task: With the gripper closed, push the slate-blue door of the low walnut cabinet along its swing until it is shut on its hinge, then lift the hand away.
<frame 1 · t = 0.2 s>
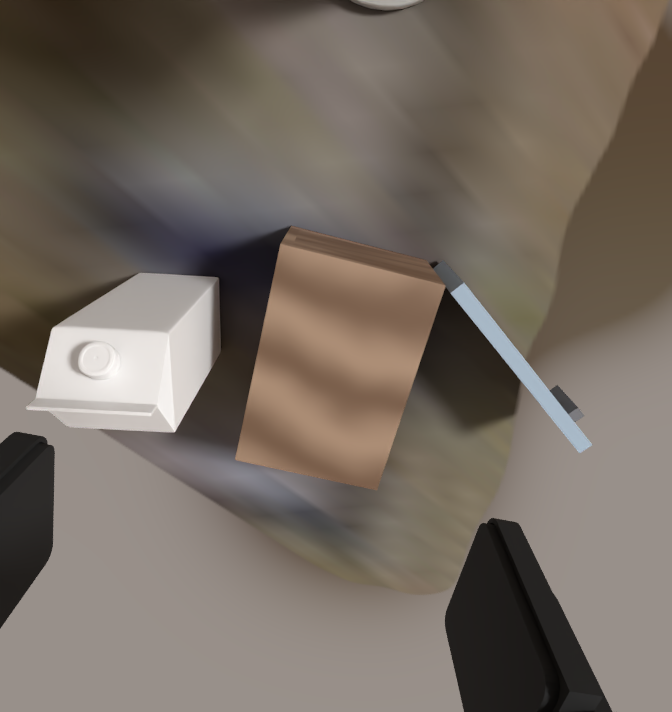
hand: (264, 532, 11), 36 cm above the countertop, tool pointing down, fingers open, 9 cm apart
milk carton: (182, 312, 47), on the countertop
walnut cabinet: (334, 338, 48), on the countertop
cabinet door: (514, 350, 44), point 5 cm above the countertop, hinge at 55.0°
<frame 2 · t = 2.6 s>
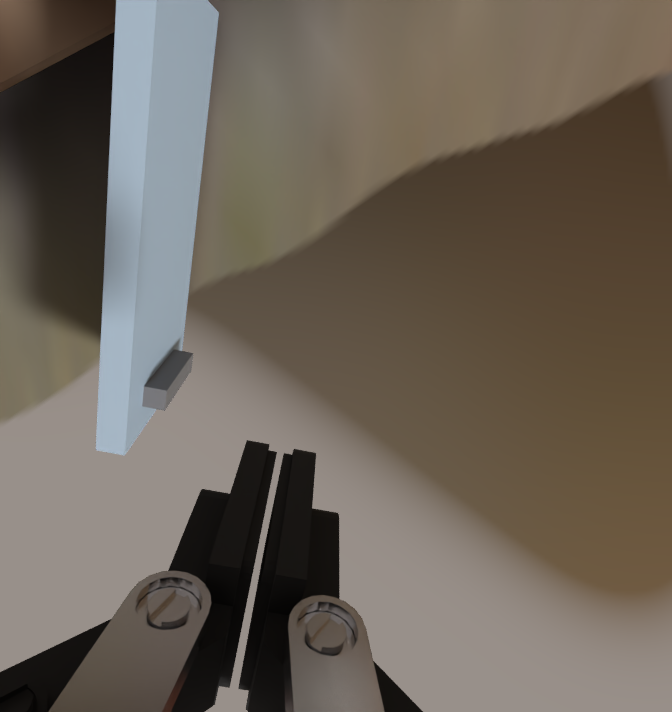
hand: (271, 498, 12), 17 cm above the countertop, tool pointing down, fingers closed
cabinet door: (170, 229, 22), point 4 cm above the countertop, hinge at 55.0°
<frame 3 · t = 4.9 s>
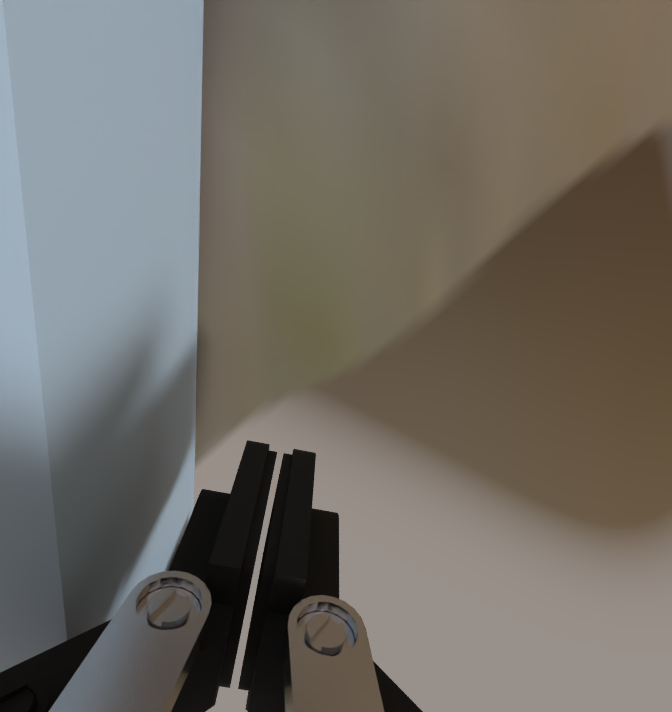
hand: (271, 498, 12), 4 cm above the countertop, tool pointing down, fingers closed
cabinet door: (144, 371, 11), point 4 cm above the countertop, hinge at 50.7°, touching gripper
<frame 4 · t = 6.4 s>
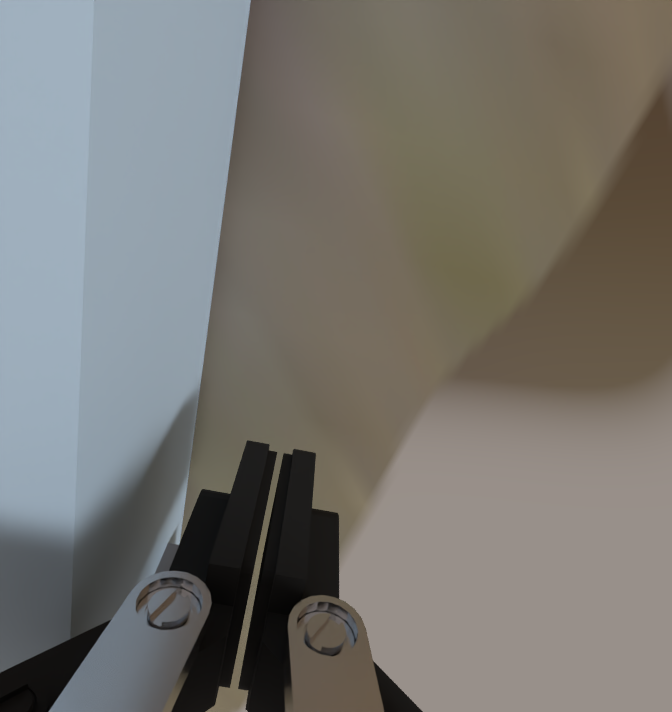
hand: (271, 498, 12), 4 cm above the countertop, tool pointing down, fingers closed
cabinet door: (160, 372, 11), point 5 cm above the countertop, hinge at 23.4°, touching gripper
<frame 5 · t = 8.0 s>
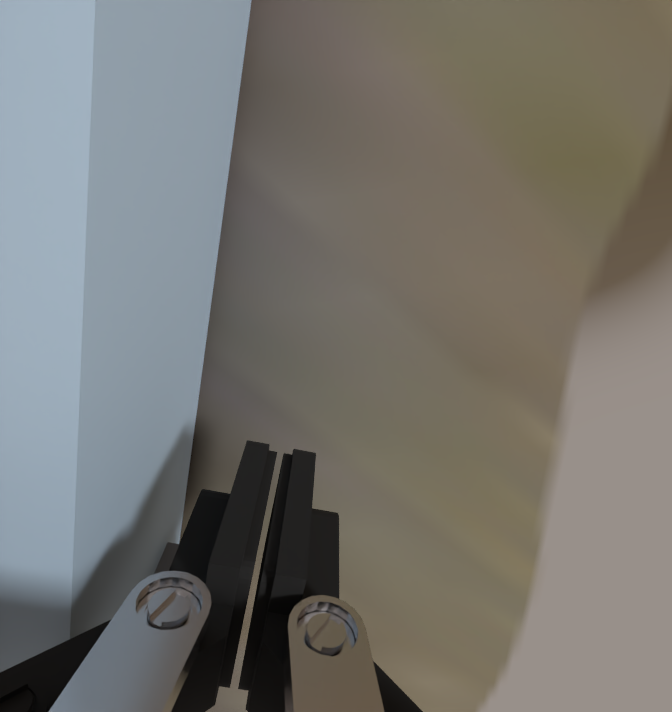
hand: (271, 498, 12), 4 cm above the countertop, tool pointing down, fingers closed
cabinet door: (160, 371, 11), point 4 cm above the countertop, hinge at 0.2°, touching gripper
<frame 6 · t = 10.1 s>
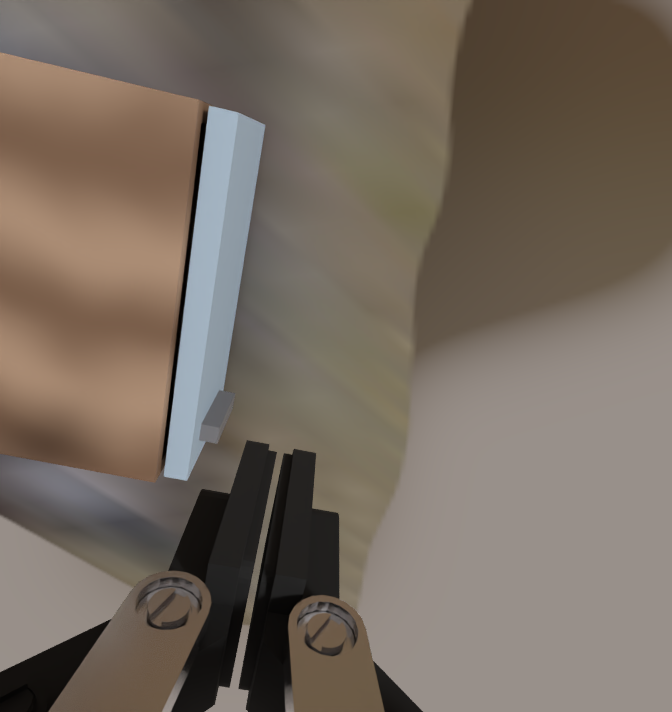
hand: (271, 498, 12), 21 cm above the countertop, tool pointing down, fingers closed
walnut cabinet: (119, 253, 31), on the countertop
cabinet door: (225, 298, 28), point 5 cm above the countertop, hinge at -0.1°
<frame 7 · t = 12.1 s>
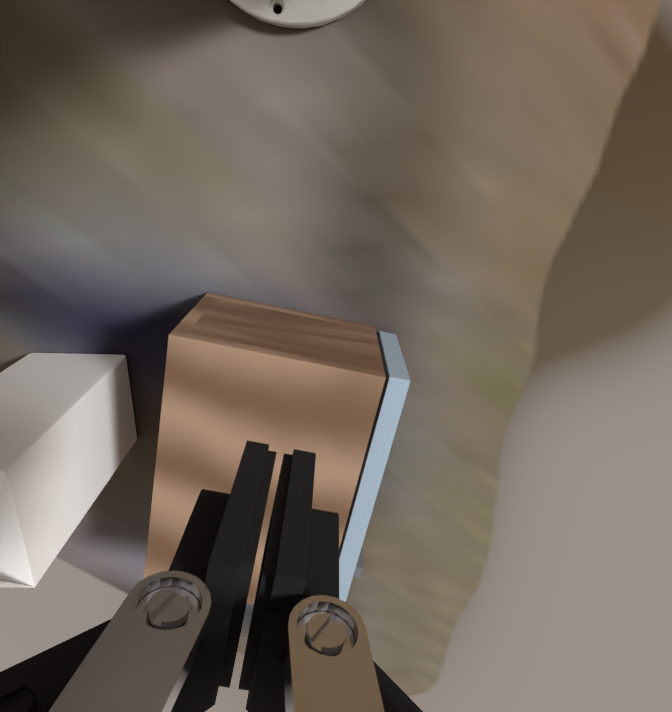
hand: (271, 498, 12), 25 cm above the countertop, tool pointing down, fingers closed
milk carton: (87, 395, 40), on the countertop
walnut cabinet: (271, 419, 40), on the countertop
cabinet door: (368, 470, 36), point 5 cm above the countertop, hinge at -0.1°
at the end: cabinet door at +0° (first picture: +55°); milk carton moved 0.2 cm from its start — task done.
